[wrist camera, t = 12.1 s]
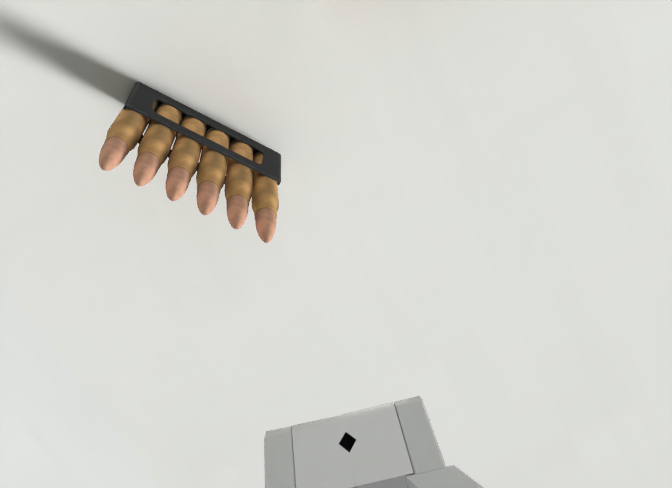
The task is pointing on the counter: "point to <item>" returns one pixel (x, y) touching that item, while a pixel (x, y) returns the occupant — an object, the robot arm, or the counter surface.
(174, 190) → the ammunition clip
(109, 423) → the counter surface
